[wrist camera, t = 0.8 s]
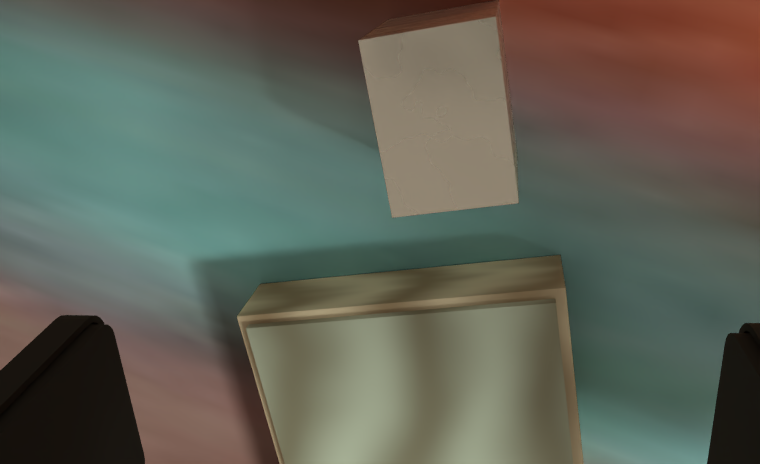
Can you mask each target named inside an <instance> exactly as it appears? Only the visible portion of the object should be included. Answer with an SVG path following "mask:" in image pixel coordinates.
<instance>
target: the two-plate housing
mask: <svg viewBox="0 0 760 464" xmlns="http://www.w3.org/2000/svg"><path fill="white" fill-rule="evenodd" d="M358 42H359V47H360V53H361V58H362V63H363V68H364V73H365V79H366V84H367V89H368V94H369V100H370V105H371V110H372V115H373V120H374V126H375V131H376V136H377V141H378V147H379V152H380V157H381V162H382V167H383V173H384V178H385V183H386V188H387V194H388V199H389V204H390V209H391V214H392V218H394V217H403V216H412V215H420V214H429V213H438V212H447V211H455V210H464V209H473V208H481V207H490V206H499V205H508V204H516V203H519V197H518V164H517V147H516V139H515V130H514V122H513V114H512V105H511V97H510V89H509V80H508V72H507V63H506V55H505V47H504V38H503V30H502V22H501V13H500V5H499V0H494V1H488V2H483V3H477V4H471V5H466V6H460V7H455V8H449V9H444V10H438V11H432V12H427V13H421V14H416V15H410V16H405V17H399V18H393V19H388V20H387V21H385V22H384V23H382V24H381V25H380V26H378V27H377V28H375V29H374V30H372V31H371V32H370V33H368V34H367V35H365V36H364V37H362V38H361V39H360V40H358Z"/></svg>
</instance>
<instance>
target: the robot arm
mask: <svg viewBox="0 0 760 464" xmlns="http://www.w3.org/2000/svg"><path fill="white" fill-rule="evenodd" d="M0 464H145V458H144V452H143V448H142V444H141V440H140V436H139V432H138V428H137V424H136V420H135V416H134V412H133V408H132V404H131V400H130V396H129V391H128V387H127V383H126V379H125V375H124V371H123V367H122V363H121V359H120V355H119V351H118V347H117V343H116V339H115V335H114V332H113V329H112V328H111V327H110V326H109V325H104V322H103V321H102V319H101V318H100V317H98V316H83V315H64V316H60V317H58V318H57V319H55V320H54V321H53V322H52V323H51V324H50V325H49V326H48V327H47V328H46V329H45V330H44V331H42V332H41V333H40V334H39V335H38V336H37V337H36V338H35V339H34V340H33V341H32V342H31V343H30V344H28V345H27V346H26V347H25V348H24V349H23V350H22V351H21V352H20V353H19V354H18V355H17V356H16V357H14V358H13V359H12V360H11V361H10V362H9V363H8V364H7V365H6V366H5V367H4V368H3V369H2V370H0ZM707 464H760V323H745V324H743V325H742V327H741V329H740V331H739V333H730V334H728V336H727V338H726V342H725V347H724V354H723V361H722V367H721V374H720V381H719V387H718V394H717V401H716V408H715V414H714V421H713V428H712V435H711V441H710V448H709V455H708V462H707Z"/></svg>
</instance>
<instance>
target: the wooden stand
mask: <svg viewBox="0 0 760 464" xmlns="http://www.w3.org/2000/svg"><path fill="white" fill-rule="evenodd" d="M237 319H238V322H239V326H240V329H241V333H242V336H243V339H244V343H245V346H246V350H247V353H248V357H249V360H250V364H251V367H252V370H253V374H254V377H255V381H256V384H257V388H258V391H259V394H260V398H261V401H262V405H263V408H264V412H265V415H266V419H267V422H268V425H269V429H270V432H271V436H272V439H273V443H274V446H275V449H276V453H277V456H278V460H279V463H280V464H583V454H582V444H581V434H580V424H579V415H578V405H577V395H576V385H575V375H574V365H573V355H572V346H571V336H570V326H569V316H568V306H567V296H566V287H565V281H564V274H563V268H562V261H561V255H554V256H544V257H533V258H523V259H513V260H503V261H492V262H482V263H472V264H462V265H451V266H441V267H431V268H420V269H410V270H400V271H390V272H379V273H369V274H359V275H349V276H338V277H328V278H318V279H307V280H297V281H287V282H277V283H266V284H260V285H259V286H258V288H257V289H256V290H255V292H254V293H253V295H252V296H251V297H250V299H249V300H248V302H247V303H246V304H245V306H244V307H243V309H242V310H241V311H240V313H239V314H238V316H237Z"/></svg>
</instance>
